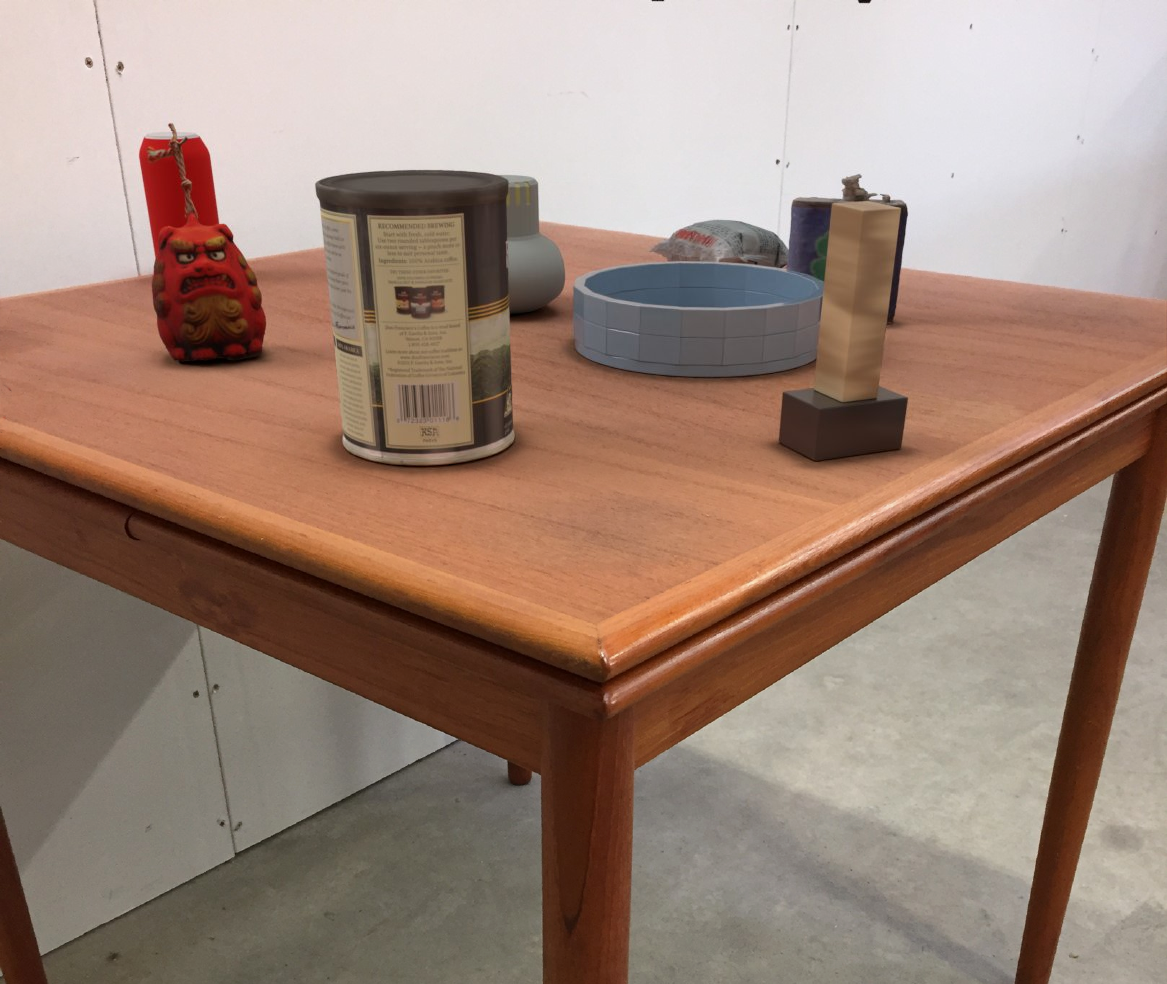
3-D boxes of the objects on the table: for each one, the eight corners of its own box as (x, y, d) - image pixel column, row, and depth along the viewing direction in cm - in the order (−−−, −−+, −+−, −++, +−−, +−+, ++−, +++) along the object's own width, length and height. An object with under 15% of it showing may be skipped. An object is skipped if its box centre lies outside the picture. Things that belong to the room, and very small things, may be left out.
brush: (862, 430, 77) (890, 198, 70) (901, 448, 74) (935, 207, 67) (777, 442, 75) (798, 203, 68) (814, 461, 72) (840, 213, 65)
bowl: (842, 331, 100) (849, 270, 98) (789, 387, 85) (795, 318, 83) (622, 312, 106) (623, 255, 103) (536, 362, 91) (535, 297, 89)
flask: (779, 316, 104) (791, 174, 99) (786, 310, 107) (798, 170, 101) (892, 325, 102) (911, 179, 96) (897, 318, 104) (915, 175, 99)
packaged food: (716, 292, 113) (720, 233, 110) (647, 271, 122) (649, 215, 119) (794, 285, 116) (800, 227, 114) (721, 265, 125) (725, 211, 123)
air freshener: (572, 318, 104) (572, 184, 99) (475, 325, 101) (470, 188, 96) (531, 293, 112) (529, 169, 107) (441, 299, 110) (435, 173, 105)
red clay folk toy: (170, 371, 88) (131, 131, 81) (154, 350, 94) (115, 123, 86) (278, 360, 91) (250, 128, 83) (256, 340, 97) (228, 120, 89)
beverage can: (203, 268, 122) (183, 129, 116) (239, 277, 119) (220, 134, 112) (146, 276, 118) (122, 133, 112) (181, 285, 115) (158, 138, 108)
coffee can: (463, 407, 81) (452, 164, 74) (547, 448, 74) (544, 183, 66) (312, 431, 76) (285, 174, 69) (386, 478, 69) (364, 196, 61)
